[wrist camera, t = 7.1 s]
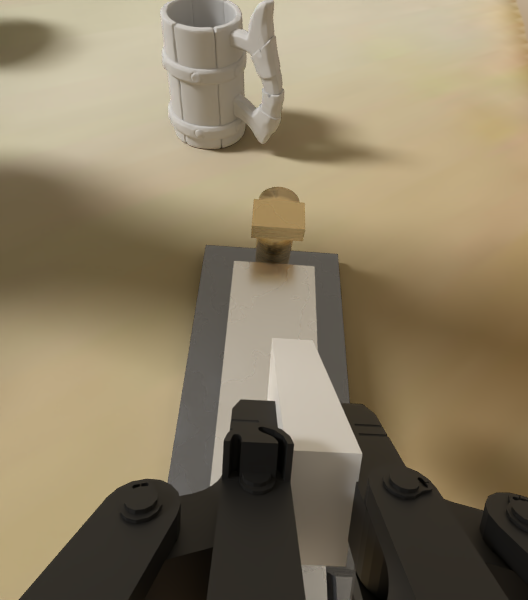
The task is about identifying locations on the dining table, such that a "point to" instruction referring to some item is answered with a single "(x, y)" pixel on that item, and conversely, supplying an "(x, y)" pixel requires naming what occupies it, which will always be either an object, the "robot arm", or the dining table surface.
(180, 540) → the robot arm
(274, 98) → the mug
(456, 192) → the dining table surface
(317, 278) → the base
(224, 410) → the white flat bar
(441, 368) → the dining table surface
